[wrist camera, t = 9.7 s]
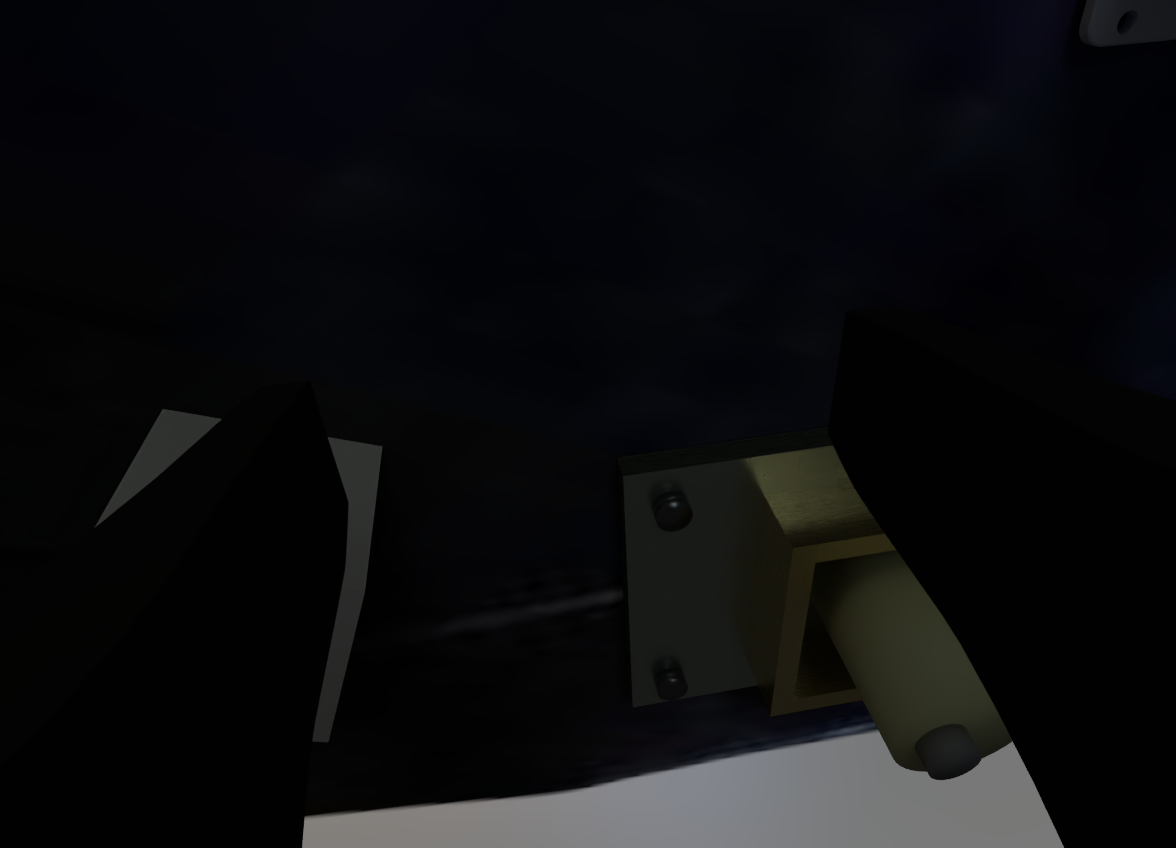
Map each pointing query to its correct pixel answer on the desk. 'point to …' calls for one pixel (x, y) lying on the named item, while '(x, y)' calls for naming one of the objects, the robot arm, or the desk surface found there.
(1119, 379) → the desk surface
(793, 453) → the mounting bracket
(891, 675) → the switch lever
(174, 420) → the grey cube
